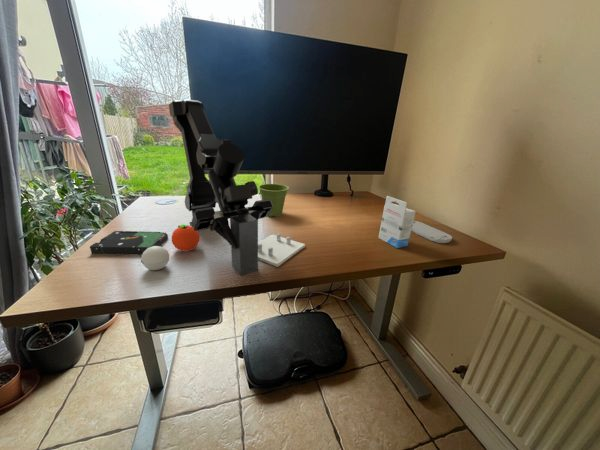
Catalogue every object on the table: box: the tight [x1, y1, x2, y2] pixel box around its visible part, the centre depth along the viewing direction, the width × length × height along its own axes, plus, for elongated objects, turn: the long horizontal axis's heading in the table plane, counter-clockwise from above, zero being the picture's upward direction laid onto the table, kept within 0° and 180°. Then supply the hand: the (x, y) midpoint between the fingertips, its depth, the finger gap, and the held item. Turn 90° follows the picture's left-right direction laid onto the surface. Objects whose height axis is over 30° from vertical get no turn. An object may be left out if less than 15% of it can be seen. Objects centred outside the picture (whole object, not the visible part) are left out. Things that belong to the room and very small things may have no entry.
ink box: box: [378, 195, 416, 249], centre depth 76 cm, size 8×5×15 cm, turn 26°
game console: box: [411, 220, 453, 244], centre depth 87 cm, size 18×2×8 cm
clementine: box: [171, 224, 201, 252], centre depth 65 cm, size 8×7×7 cm
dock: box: [258, 233, 306, 268], centre depth 68 cm, size 12×14×3 cm
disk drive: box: [89, 230, 169, 256], centre depth 66 cm, size 10×3×15 cm
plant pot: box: [257, 183, 290, 218], centre depth 95 cm, size 12×12×11 cm
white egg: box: [140, 245, 170, 271], centre depth 55 cm, size 8×6×6 cm
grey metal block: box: [229, 214, 259, 276], centre depth 57 cm, size 5×4×13 cm
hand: (246, 245), depth 56 cm, fingers closed on grey metal block, 5 cm apart
